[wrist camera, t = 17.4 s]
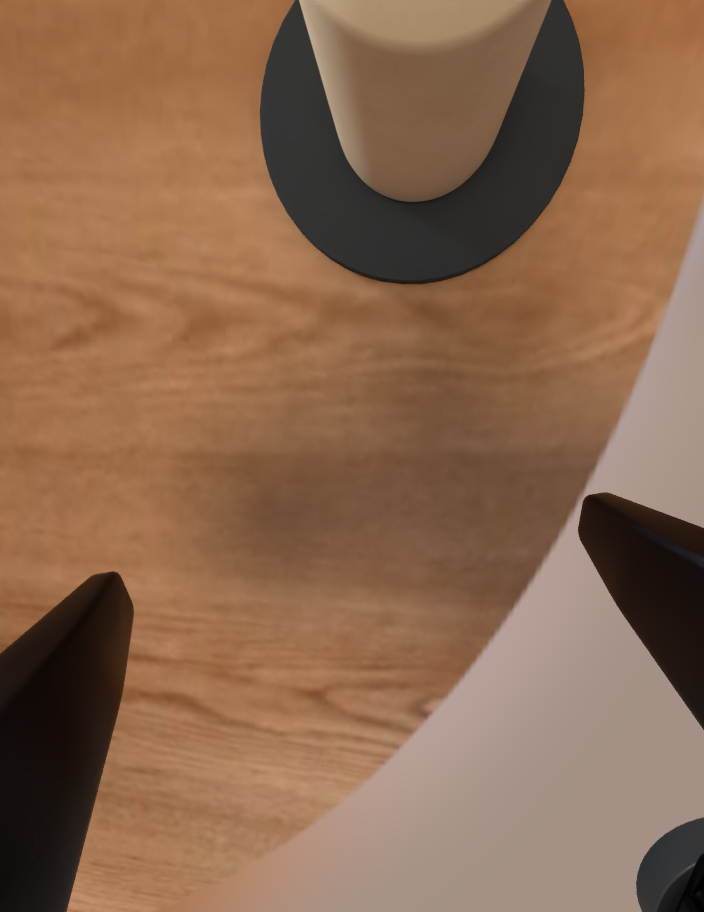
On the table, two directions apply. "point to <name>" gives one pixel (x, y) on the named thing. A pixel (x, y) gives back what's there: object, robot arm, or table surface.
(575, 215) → the table surface
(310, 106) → the mat
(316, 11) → the candle
